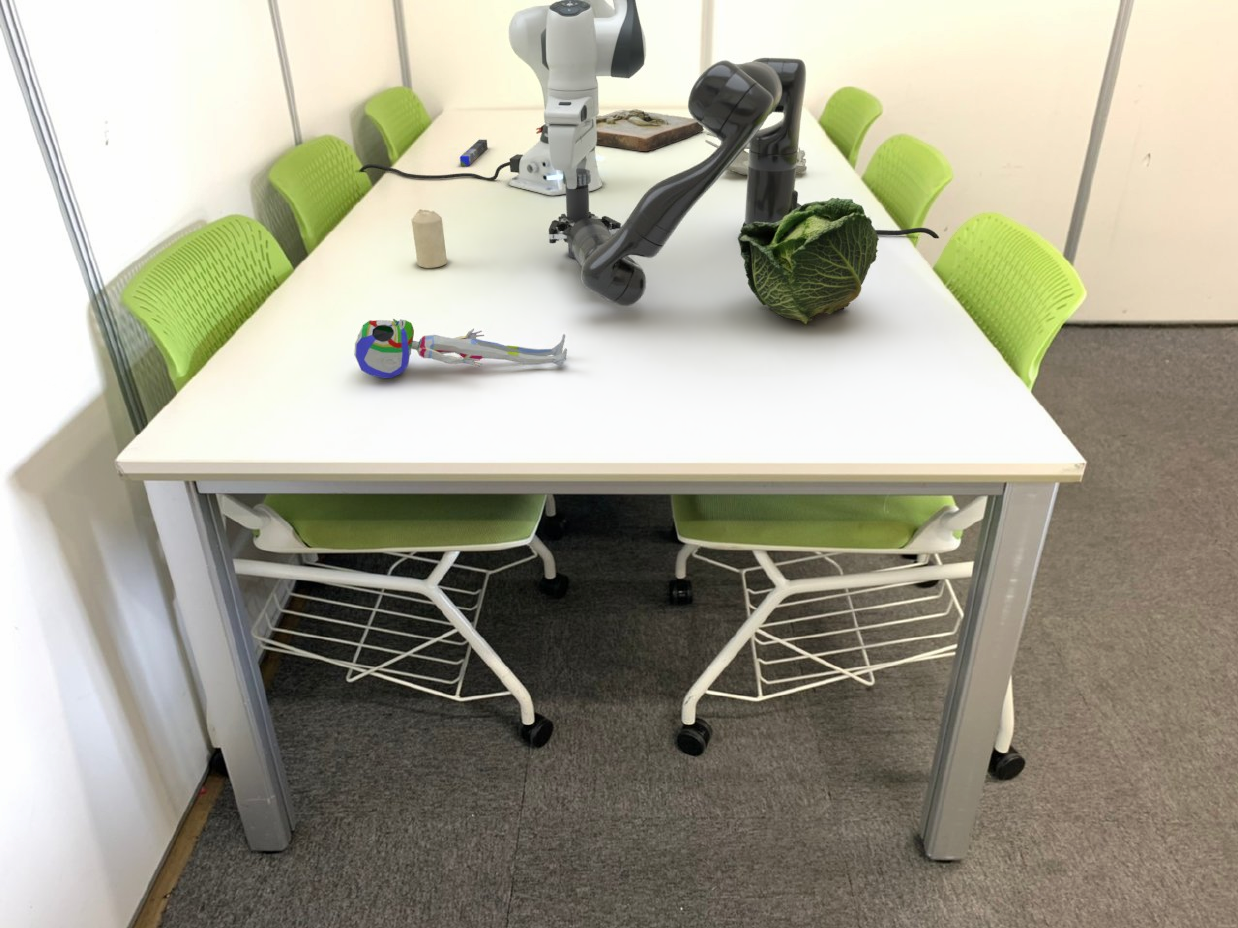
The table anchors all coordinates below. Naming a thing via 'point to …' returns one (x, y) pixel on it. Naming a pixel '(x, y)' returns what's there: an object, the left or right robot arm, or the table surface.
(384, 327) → the toy
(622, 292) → the right robot arm
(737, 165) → the anatomical model
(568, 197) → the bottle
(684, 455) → the table surface
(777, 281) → the vegetable
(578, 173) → the lid
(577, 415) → the table surface
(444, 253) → the candle
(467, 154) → the blue-capped grey bar
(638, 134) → the plaque
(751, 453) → the table surface
